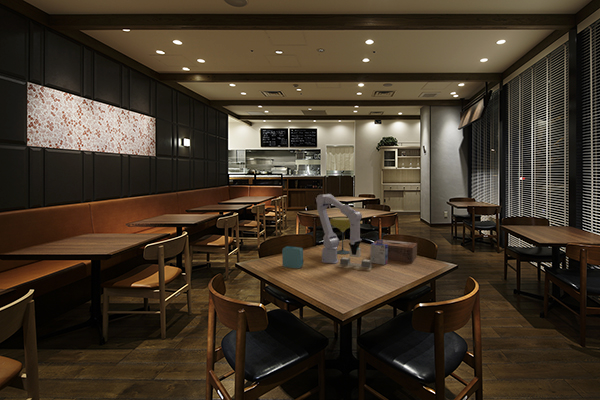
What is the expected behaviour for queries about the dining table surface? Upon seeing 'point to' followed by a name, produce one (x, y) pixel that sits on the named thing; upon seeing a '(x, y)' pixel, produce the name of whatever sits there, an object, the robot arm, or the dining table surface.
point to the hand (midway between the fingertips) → (354, 253)
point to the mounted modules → (363, 263)
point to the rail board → (355, 267)
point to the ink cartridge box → (379, 253)
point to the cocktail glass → (341, 228)
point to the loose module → (356, 253)
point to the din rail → (355, 265)
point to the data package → (292, 257)
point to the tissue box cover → (401, 250)
